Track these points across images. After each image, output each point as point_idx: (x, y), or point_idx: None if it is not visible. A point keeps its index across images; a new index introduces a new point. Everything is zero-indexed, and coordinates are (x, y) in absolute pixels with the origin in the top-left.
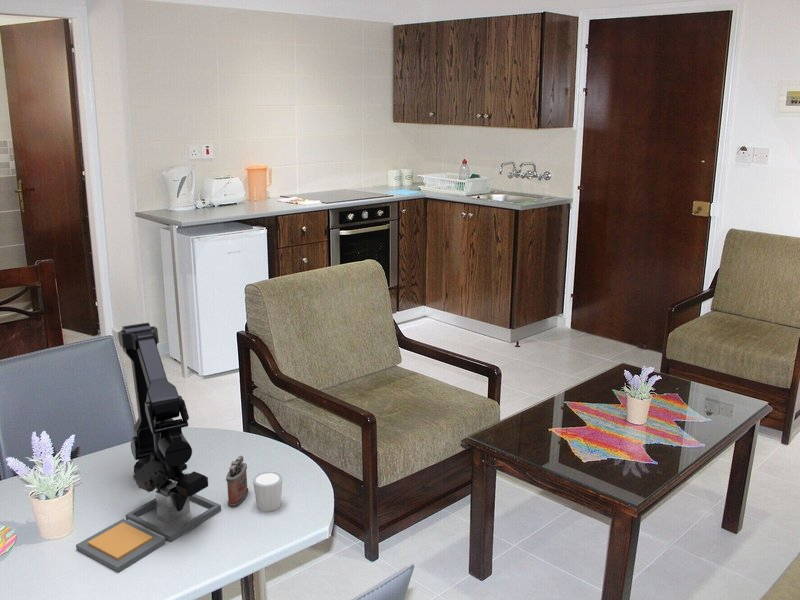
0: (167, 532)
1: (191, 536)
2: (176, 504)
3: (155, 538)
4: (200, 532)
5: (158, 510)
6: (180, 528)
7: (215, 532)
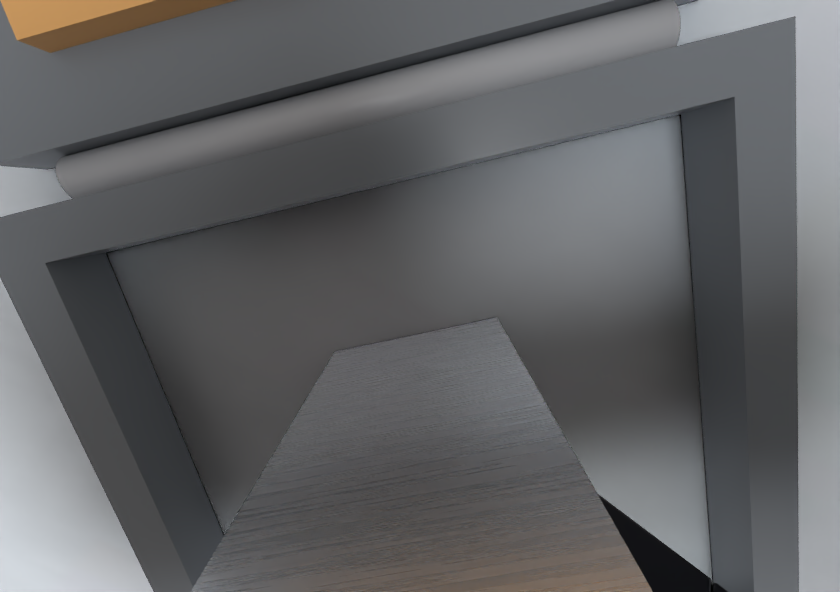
0: (64, 239)
1: (44, 395)
2: None
3: (50, 84)
4: (63, 470)
5: (493, 361)
6: (62, 374)
7: (2, 542)
